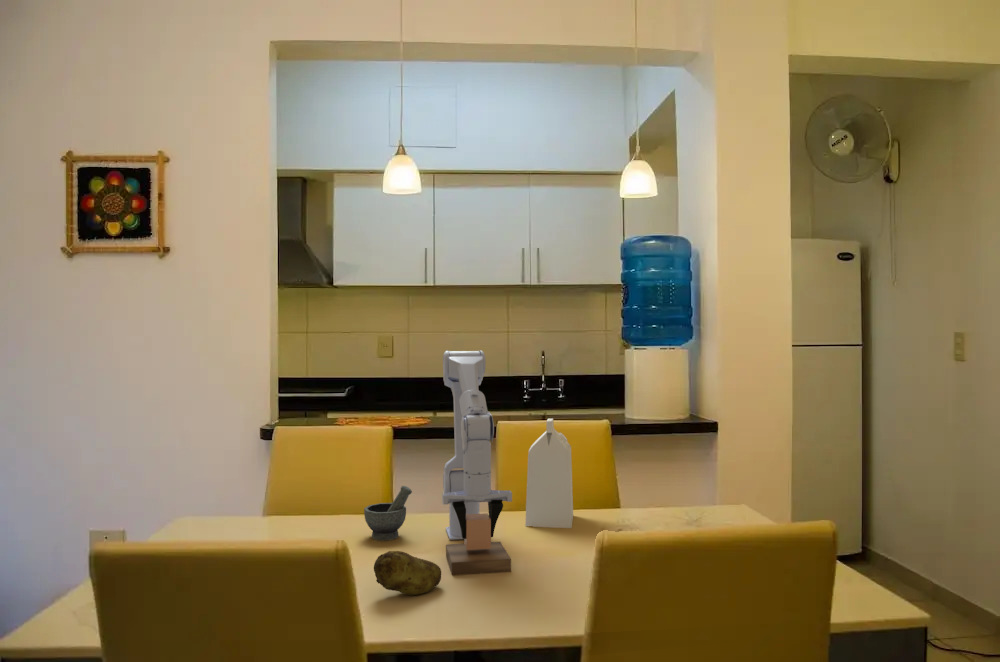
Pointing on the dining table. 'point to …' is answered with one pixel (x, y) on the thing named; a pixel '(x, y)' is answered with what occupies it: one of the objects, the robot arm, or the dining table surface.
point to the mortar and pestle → (387, 516)
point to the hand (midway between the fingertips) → (477, 536)
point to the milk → (549, 481)
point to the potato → (406, 573)
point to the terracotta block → (478, 531)
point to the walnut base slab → (477, 559)
